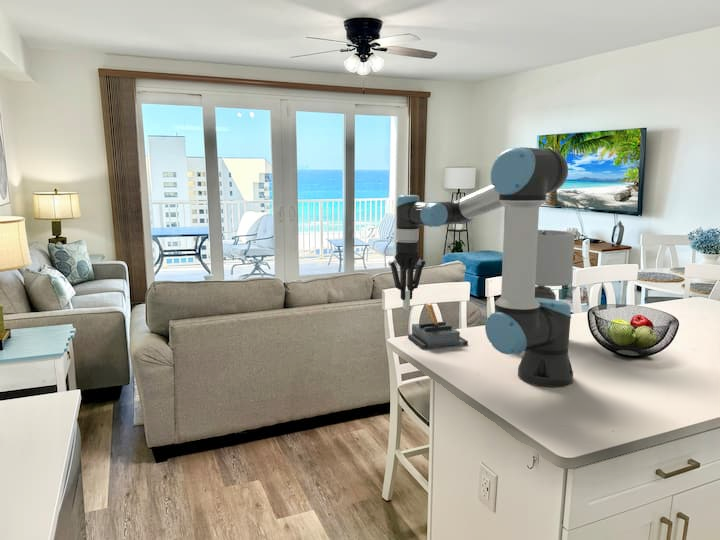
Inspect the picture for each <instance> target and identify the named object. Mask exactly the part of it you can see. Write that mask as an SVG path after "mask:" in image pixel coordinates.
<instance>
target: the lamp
mask: <svg viewBox="0 0 720 540" xmlns="http://www.w3.org/2000/svg"><path fill="white" fill-rule="evenodd" d="M575 239H576V233H575V232H572V231H566V230H553V229H550V230H549V229H538V238H537V258H536V278H535V297H534V298H545V299H552V300H557V295H556V293H555V292H553V291H552V288H551V287H560V286H561V287H563V286H568V285H571V284H572V281H573V269H574V267H573V266H574V254H575Z"/></svg>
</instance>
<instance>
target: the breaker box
mask: <svg viewBox="0 0 720 540" xmlns="http://www.w3.org/2000/svg"><path fill="white" fill-rule="evenodd" d="M437 322H438V324H439V326H435V325H433V324H432V322H425V323H423V322H422V323H412V324H411V334H412V335H413V336H415V337H416V338H417V339H419V340H420V341H422V342H423V343H424V344H426V349H427V350H431V349H442V348H451V347H460V346H459V341H460V337H461V336H460V335H461V332H460V331H459V330H457V329H455V328H454V327H453V325H451V324H447V323H446V321H437Z"/></svg>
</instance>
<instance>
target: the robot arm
mask: <svg viewBox="0 0 720 540" xmlns="http://www.w3.org/2000/svg"><path fill="white" fill-rule="evenodd" d="M568 175H569V166H568V162H567V160H566V158H565V157H564V155H562V154H561V153H560V152H558V151H557V150H554V149H550V148H536V147H535V148H534V147H522V146H521V147H511V148H508V149H506V150H504V151H502V152H500V154H499V156H498V157H496V159H495V160H494V162H493V164H492V167H491V170H490V183H491V184H489V185H488V186H486V187H483V188H480V189H479V190H476V191H474V192H472V193H469V194H467V195H465V196H463V197H460V198H459V199H457V200H454V201H452V200H451V201H432V202H431V201H429V202H428V201H420V196H419V195H417V194H403V195H398V196H397V200H396V201H397V202H396V240H397V241H396V242H395V245H396V246H395V247H396V248H395V249H396V250H395V253H396V254H395V256H394V259H393V260H392V261H388V266H389V267H390V268H391V272H392V273H391V274H392V276H393V277H392V278H393V282H394V286H395V288H396V289H397V290H400V299H401V300H402V309H403V310H411V309H410V307H411V306H410V305H411V304H410V303H411V300H412V299H413V291H414V289H415V290H416V289H418V287H419V283H420V279H421V275H422V270H423V269H424V266H425V264H426V261H425V260H422V259H421V258H420V255H419V235H420V233H419V232H420V226H426V227H429V228H430V227H434V228H435V227H441V226H445V225H463V224H468V223H471V222H472V221H473V220H474V219H475V218H477V217H479V216H482V215H485V214H487V213H490V212H492V211H494V210H497V209H500V208H503V207H504V212H503V213H504V215H503V216H504V217H503V241H502V243H503V244H502V266H501V267H502V268H501V269H502V270H501V289H500V290H501V291H500V292H501V294H500V297H498V299H496V300H495V301H494V312H493V313H491V314H490V315H489V317H487V318H486V320H485V329H484V330H485V335H486V337H487V340H488V341H489V343H490V344H491V346H492V347H493V348H494V349H495V350H496V351H498V352H499V353H501V354H504V355H515V354H517V355H518V354H522V353H523V355H522V356H521V360H520V363H519V364H518V367H517V376H518V377H519V379H521V380H522V381H524V382H526V383H527V384H531V385H535V386H540V387H546V388H547V387H548V388H558V387H559V388H560V387H566V386H570V385H572V383H574V371H573V368H572V363H571V359H570V358H569V357H570V356H569V347H570V346H569V345H570V333H571V332H570V330H571V319H572V314H571V310H572V308H571V306H570V304H569V303H567V302H565V301H562V300H557V299H556V300H552V299H545V298H534V297H535V286H536V285H535V278H536V258H537V238H538V230H539V216H540V215H539V212H540V208H541V207H542V206H543V204H544V203H545V202H546V199H547V194H550V193H553V192H556V190H559V189H560V188H561V187H562V186H563V185H564V184H565V183H566V181H567V178H568ZM397 266H399V271H400V272H398V268H397ZM415 266H416V268H415ZM399 273H400V274H399ZM399 275H400V276H399Z"/></svg>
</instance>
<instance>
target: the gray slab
mask: <svg viewBox="0 0 720 540" xmlns="http://www.w3.org/2000/svg"><path fill="white" fill-rule="evenodd" d="M468 343H469V341H468V340H466V339H465V338H463V337H461V336H460V341H459V346H458V347H463V346H468Z"/></svg>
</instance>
